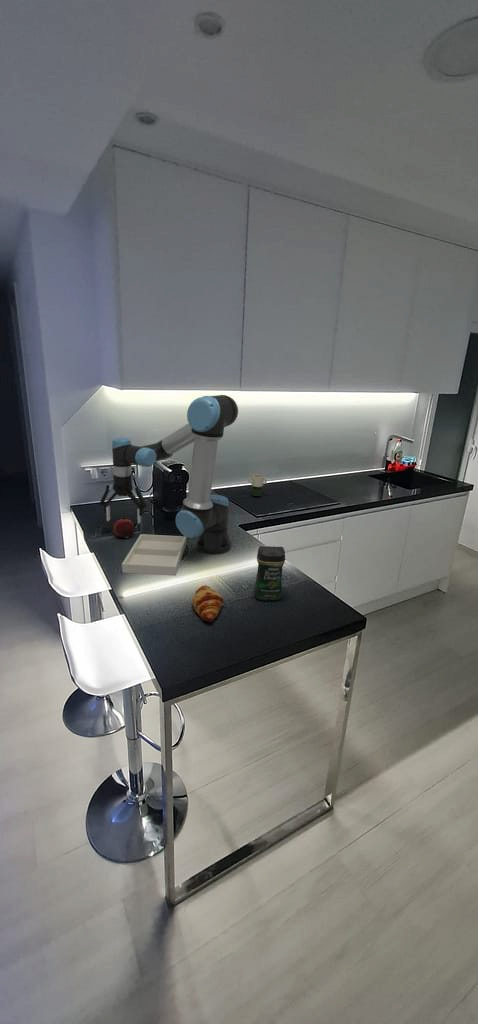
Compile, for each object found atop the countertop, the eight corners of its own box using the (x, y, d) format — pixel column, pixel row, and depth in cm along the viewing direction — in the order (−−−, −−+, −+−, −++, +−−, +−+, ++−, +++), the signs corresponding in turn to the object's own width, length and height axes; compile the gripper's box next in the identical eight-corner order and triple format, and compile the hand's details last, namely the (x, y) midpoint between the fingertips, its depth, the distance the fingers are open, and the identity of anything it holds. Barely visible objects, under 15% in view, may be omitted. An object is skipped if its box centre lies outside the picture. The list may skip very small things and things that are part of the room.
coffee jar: (254, 602, 144) (258, 552, 138) (253, 590, 151) (256, 542, 145) (283, 602, 145) (287, 552, 138) (280, 590, 152) (284, 542, 146)
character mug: (264, 494, 261) (266, 474, 257) (266, 498, 254) (267, 477, 250) (247, 494, 260) (248, 473, 256) (247, 497, 254) (249, 476, 249)
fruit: (129, 541, 186) (129, 520, 183) (109, 539, 188) (108, 517, 184) (138, 534, 194) (137, 513, 191) (119, 531, 196) (118, 511, 193)
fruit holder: (186, 543, 186) (186, 536, 185) (175, 575, 159) (175, 566, 158) (140, 541, 186) (140, 534, 185) (122, 572, 159) (121, 564, 158)
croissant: (196, 600, 150) (185, 582, 147) (221, 587, 150) (211, 569, 147) (201, 635, 130) (189, 616, 127) (230, 620, 130) (219, 600, 127)
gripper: (153, 474, 185) (153, 519, 192) (96, 470, 185) (98, 516, 192) (149, 479, 178) (150, 526, 185) (90, 475, 178) (92, 522, 185)
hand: (123, 521), depth 188 cm, fingers open, 13 cm apart
